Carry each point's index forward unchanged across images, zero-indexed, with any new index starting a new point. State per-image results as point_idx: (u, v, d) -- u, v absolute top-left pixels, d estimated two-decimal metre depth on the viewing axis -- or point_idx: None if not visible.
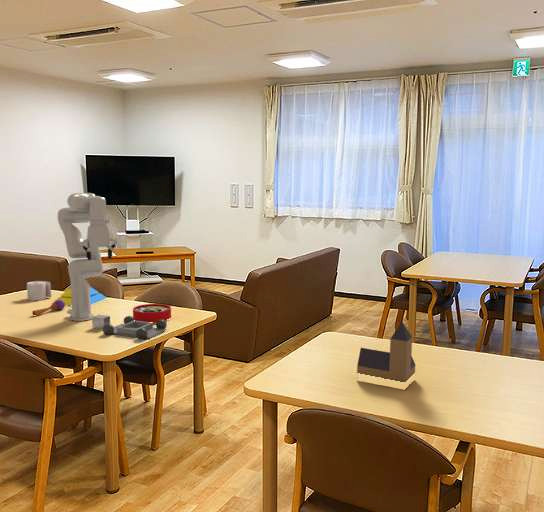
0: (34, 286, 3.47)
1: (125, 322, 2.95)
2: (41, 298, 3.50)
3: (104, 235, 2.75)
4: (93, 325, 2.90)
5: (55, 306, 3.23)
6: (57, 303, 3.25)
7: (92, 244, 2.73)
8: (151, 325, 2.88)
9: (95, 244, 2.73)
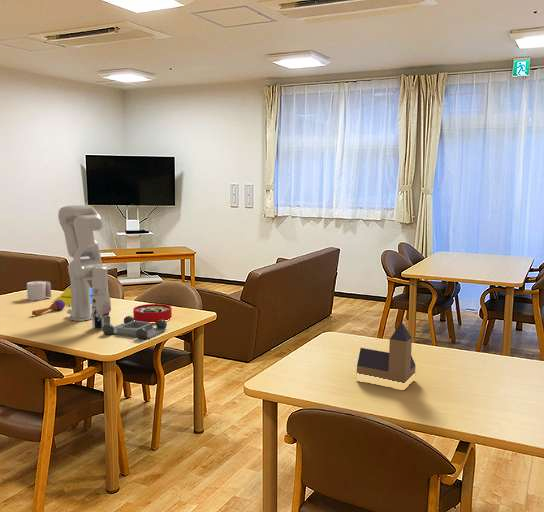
0: (34, 286, 3.47)
1: (125, 322, 2.95)
2: (41, 298, 3.50)
3: None
4: (93, 325, 2.90)
5: (55, 306, 3.23)
6: (57, 303, 3.24)
7: None
8: (151, 325, 2.88)
9: None
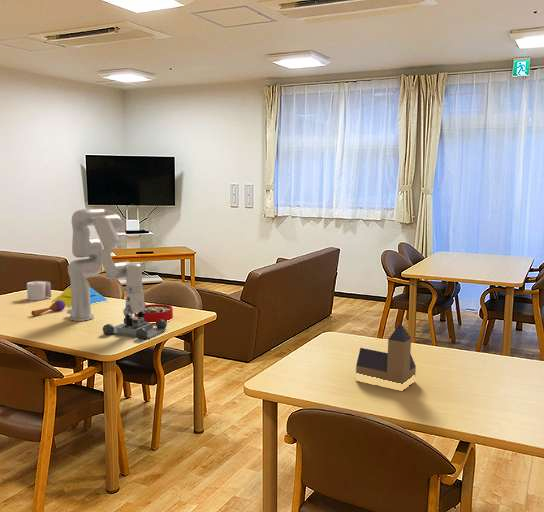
0: (34, 286, 3.47)
1: (125, 322, 2.95)
2: (41, 298, 3.50)
3: None
4: (127, 327, 2.83)
5: (55, 306, 3.22)
6: (57, 303, 3.24)
7: None
8: (151, 325, 2.88)
9: None
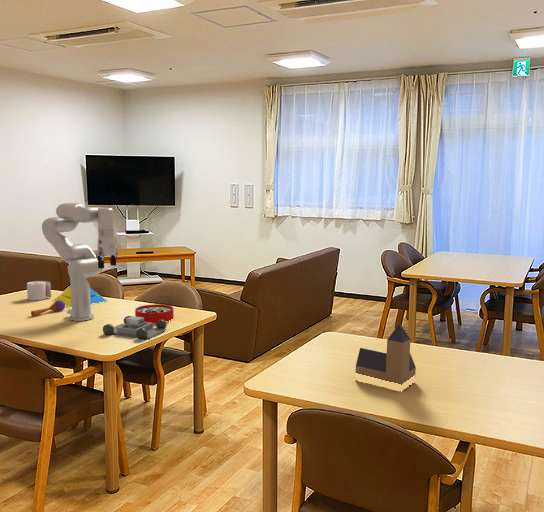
0: (34, 286, 3.47)
1: (125, 322, 2.95)
2: (41, 298, 3.50)
3: None
4: (127, 327, 2.83)
5: (55, 307, 3.22)
6: (57, 304, 3.23)
7: None
8: (151, 325, 2.88)
9: None
